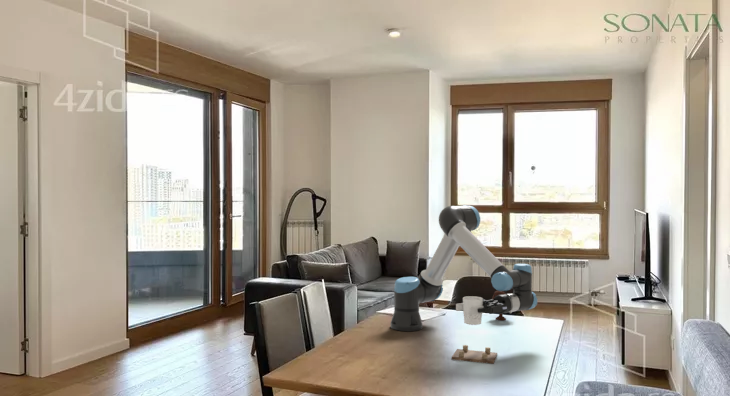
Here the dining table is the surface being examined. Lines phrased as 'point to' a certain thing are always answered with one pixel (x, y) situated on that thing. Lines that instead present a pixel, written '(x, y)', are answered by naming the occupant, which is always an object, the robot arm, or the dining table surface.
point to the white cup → (467, 303)
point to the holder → (474, 355)
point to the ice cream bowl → (499, 313)
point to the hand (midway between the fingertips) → (463, 309)
